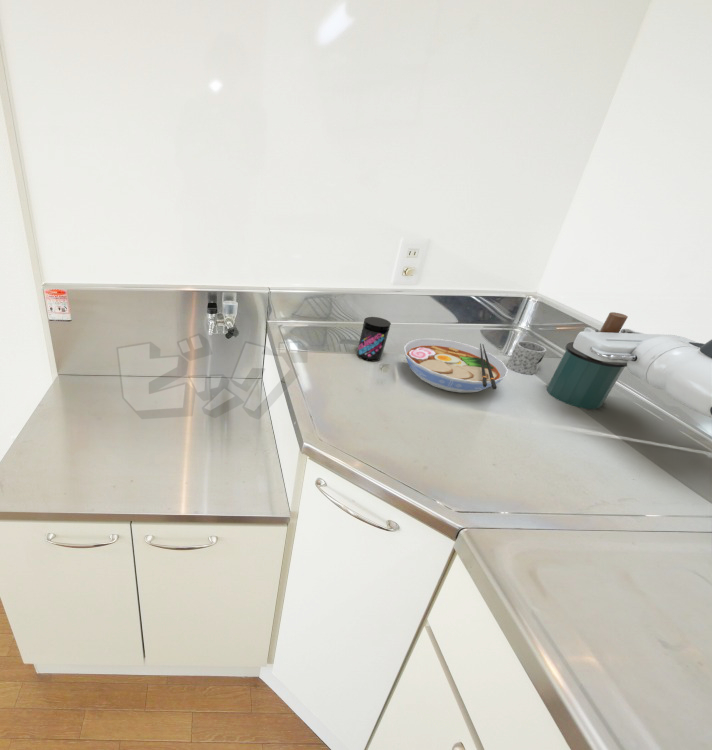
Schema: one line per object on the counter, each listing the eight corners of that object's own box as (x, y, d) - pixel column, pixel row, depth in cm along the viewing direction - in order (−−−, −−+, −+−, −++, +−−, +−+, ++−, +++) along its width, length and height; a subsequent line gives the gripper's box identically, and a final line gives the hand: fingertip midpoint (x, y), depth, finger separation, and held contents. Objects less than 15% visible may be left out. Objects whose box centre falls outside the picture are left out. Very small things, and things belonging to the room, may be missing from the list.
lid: (611, 351, 98) (635, 309, 93) (639, 373, 88) (667, 328, 83) (555, 343, 101) (575, 302, 96) (577, 364, 91) (600, 320, 86)
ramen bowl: (401, 353, 120) (409, 327, 115) (493, 374, 111) (505, 346, 107) (389, 394, 100) (398, 363, 96) (500, 423, 91) (515, 391, 87)
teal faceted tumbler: (585, 394, 104) (611, 349, 97) (606, 418, 95) (636, 369, 89) (537, 387, 106) (560, 342, 100) (553, 408, 97) (579, 361, 91)
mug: (539, 376, 111) (550, 353, 108) (511, 371, 113) (521, 349, 109) (527, 359, 119) (537, 338, 116) (501, 355, 121) (510, 334, 118)
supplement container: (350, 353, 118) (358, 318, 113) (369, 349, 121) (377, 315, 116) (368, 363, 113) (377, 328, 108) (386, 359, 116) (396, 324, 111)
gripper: (596, 372, 82) (550, 342, 94) (705, 377, 82) (645, 346, 94) (611, 343, 79) (562, 315, 91) (725, 347, 78) (660, 319, 90)
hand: (605, 331), depth 92 cm, fingers open, 6 cm apart
